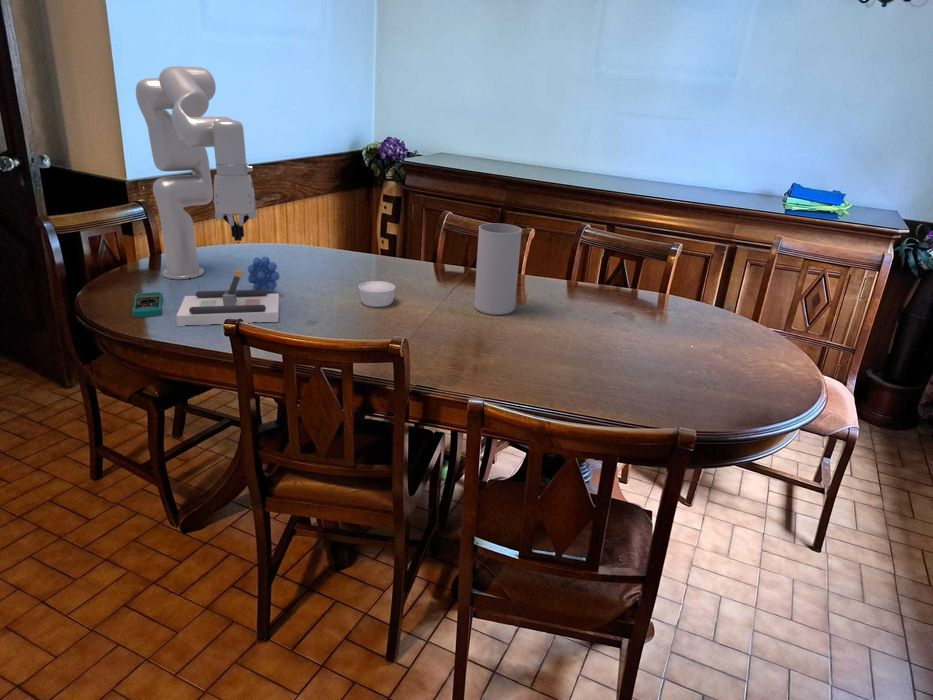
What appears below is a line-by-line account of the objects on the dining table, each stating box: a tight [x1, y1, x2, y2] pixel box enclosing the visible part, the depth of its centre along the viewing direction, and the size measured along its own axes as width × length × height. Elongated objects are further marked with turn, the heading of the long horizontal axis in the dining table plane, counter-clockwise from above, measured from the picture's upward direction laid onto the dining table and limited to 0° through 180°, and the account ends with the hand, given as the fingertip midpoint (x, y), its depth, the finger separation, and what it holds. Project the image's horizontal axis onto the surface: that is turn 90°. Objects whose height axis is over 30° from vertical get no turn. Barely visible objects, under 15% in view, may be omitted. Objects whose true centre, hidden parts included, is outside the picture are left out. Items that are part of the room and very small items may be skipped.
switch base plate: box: [176, 288, 280, 327], centre depth 183 cm, size 16×26×6 cm, turn 104°
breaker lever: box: [226, 268, 244, 296], centre depth 181 cm, size 3×2×10 cm
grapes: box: [247, 255, 280, 293], centre depth 200 cm, size 12×7×12 cm, turn 68°
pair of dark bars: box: [189, 289, 269, 314], centre depth 183 cm, size 15×20×2 cm
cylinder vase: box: [473, 222, 523, 316], centre depth 195 cm, size 12×12×25 cm
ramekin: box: [358, 280, 397, 308], centre depth 199 cm, size 11×11×5 cm
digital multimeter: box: [131, 291, 164, 318], centre depth 185 cm, size 7×15×3 cm, turn 22°
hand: (238, 239), depth 176 cm, fingers closed
